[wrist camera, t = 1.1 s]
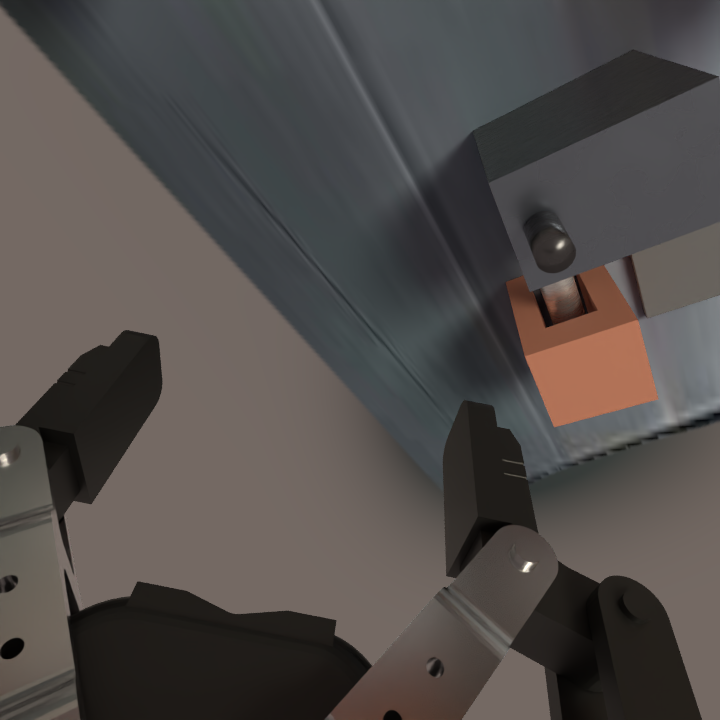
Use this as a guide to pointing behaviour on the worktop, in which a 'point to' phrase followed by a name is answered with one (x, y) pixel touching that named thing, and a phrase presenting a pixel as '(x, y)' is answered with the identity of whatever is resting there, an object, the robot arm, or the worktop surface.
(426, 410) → the worktop surface
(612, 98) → the vise block
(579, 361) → the notched orange block
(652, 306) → the mat
